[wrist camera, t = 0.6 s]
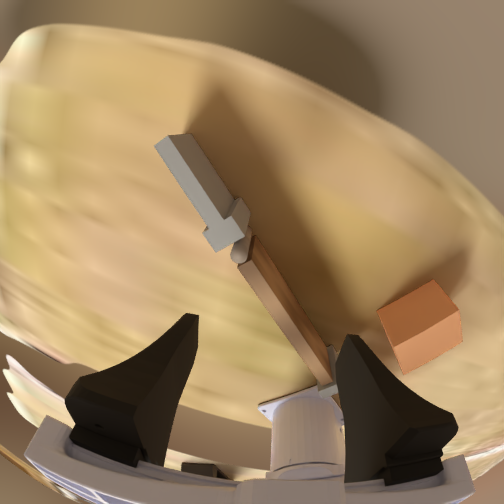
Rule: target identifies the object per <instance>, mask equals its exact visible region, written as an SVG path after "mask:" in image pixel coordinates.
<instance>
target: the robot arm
mask: <svg viewBox="0 0 504 504" xmlns="http://www.w3.org/2000/svg"><path fill="white" fill-rule="evenodd" d="M198 324H199V315H195V314H189V313H186V314H184V315H183V316H182V317H181V318H180V319H179V320H178V321H177V322H176V323H175V324H174V325H173V326H172V327H171V328H170V329H169V330H168V331H167V332H165V333H164V334H163V335H162V336H161V337H160V338H159V339H157V340H156V341H155V342H153V343H152V344H151V345H150V346H148V347H147V348H145V349H144V350H143V351H141V352H139V353H138V354H136V355H135V356H133V357H131V358H129V359H128V360H126V361H124V362H122V363H120V364H118V365H115V366H113V367H111V368H108V369H105V370H103V371H100V372H97V373H93V374H89V375H86V376H82V377H80V378H79V379H78V380H77V381H76V382H75V384H74V385H73V387H72V388H71V390H70V392H69V393H68V395H67V396H66V398H65V405H66V408H67V410H68V412H69V413H70V415H71V417H72V419H73V420H74V422H75V426H74V428H73V429H72V428H71V427H69V426H68V425H66V424H64V423H62V422H60V421H58V420H56V419H54V418H52V417H50V416H48V415H46V417H45V418H44V420H43V422H42V423H41V425H40V427H39V428H38V430H37V432H36V433H35V435H34V437H33V438H32V440H31V442H30V444H29V445H28V447H27V449H26V451H25V453H24V456H25V457H26V458H27V459H28V460H29V461H30V462H31V463H32V464H33V465H34V466H35V467H36V468H37V469H38V470H39V471H40V472H41V473H43V474H44V475H45V476H46V477H47V478H48V479H50V480H52V481H53V482H55V483H57V484H59V485H61V486H63V487H64V488H66V489H68V490H70V491H72V492H74V493H76V494H78V495H80V496H82V497H84V498H86V499H88V500H90V501H92V502H94V503H96V504H458V503H460V502H461V501H463V500H464V499H466V498H468V497H469V496H471V495H472V494H474V493H475V488H474V485H473V481H472V478H471V475H470V472H469V469H468V466H467V463H466V461H465V458H464V455H459V456H455V457H452V458H449V459H446V460H444V461H441V458H440V457H442V456H443V452H442V448H443V447H444V446H445V445H446V444H447V443H448V442H449V441H450V440H451V439H452V438H453V437H454V436H455V435H456V433H457V431H458V425H457V422H456V420H455V418H454V415H453V414H452V413H450V412H448V411H446V410H443V409H441V408H439V407H437V406H435V405H433V404H432V403H430V402H428V401H426V400H425V399H423V398H422V397H420V396H419V395H417V394H416V393H415V392H413V391H412V390H410V389H409V388H408V387H407V386H406V385H404V384H403V383H402V382H401V381H400V380H399V379H397V378H396V377H395V376H394V375H393V374H392V373H391V372H390V371H389V370H388V369H387V368H386V366H385V365H384V364H383V363H382V362H381V361H380V360H379V359H378V358H377V356H376V355H375V354H374V353H373V352H372V350H371V349H370V348H369V347H368V346H367V345H366V343H365V342H364V341H363V340H362V339H361V338H360V336H359V335H348V334H347V336H346V339H345V341H344V343H343V346H342V348H341V351H340V353H339V356H338V358H337V360H336V363H335V373H336V383H337V388H338V393H339V398H340V403H341V408H342V410H341V409H340V407H339V406H338V404H337V403H336V402H335V400H334V399H333V398H332V396H329V397H326V398H324V399H323V398H322V396H321V395H320V394H319V392H318V388H317V385H316V386H313V387H311V388H308V389H305V390H302V391H300V392H297V393H294V394H291V395H288V396H285V397H282V398H279V399H276V400H272V401H269V402H266V403H263V404H260V405H258V410H259V411H260V412H261V413H262V414H264V415H265V416H266V417H267V418H268V419H269V420H270V421H271V422H272V444H271V445H272V446H271V469H270V472H267V473H266V479H250V480H244V481H243V482H242V481H234V480H226V479H219V478H213V477H207V476H202V475H196V474H192V473H187V472H182V471H178V470H174V469H170V468H166V467H164V462H165V456H166V451H167V447H168V442H169V437H170V433H171V429H172V425H173V421H174V417H175V413H176V409H177V406H178V403H179V400H180V397H181V394H182V392H183V389H184V387H185V384H186V382H187V379H188V377H189V374H190V372H191V369H192V367H193V364H194V360H195V356H196V352H197V348H198ZM342 425H344V427H345V443H344V436H343V429H342Z"/></svg>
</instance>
